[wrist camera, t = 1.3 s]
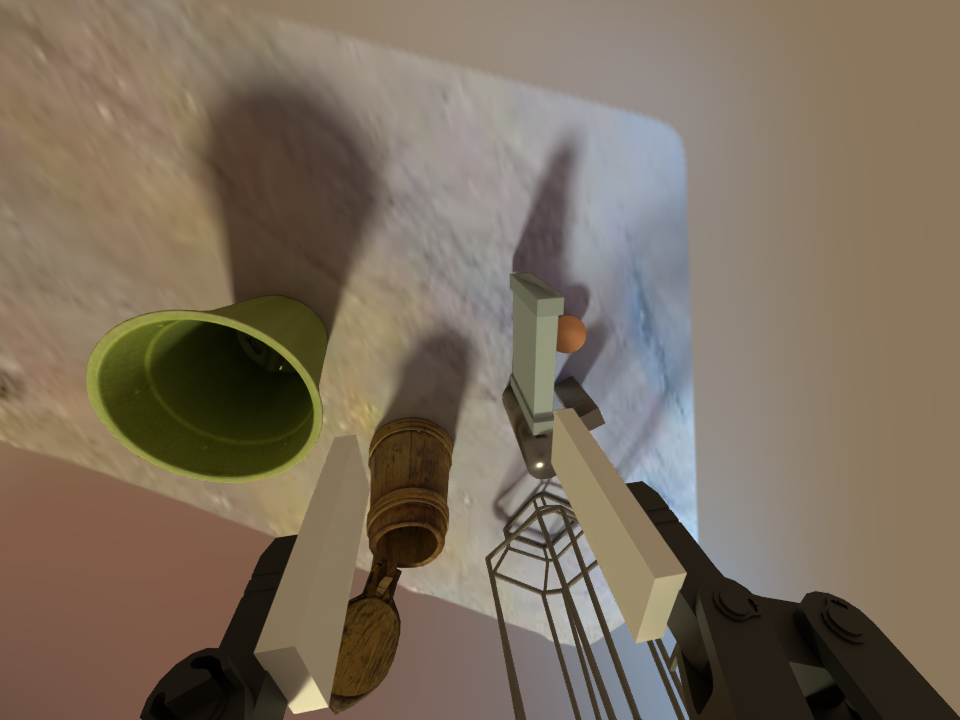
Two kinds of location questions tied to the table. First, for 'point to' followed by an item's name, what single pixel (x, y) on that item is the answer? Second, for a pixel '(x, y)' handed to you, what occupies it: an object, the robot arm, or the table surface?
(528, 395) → the grey-green flanged panel
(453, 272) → the table surface
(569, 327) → the ball
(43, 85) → the table surface
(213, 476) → the plant pot
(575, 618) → the geometric lantern
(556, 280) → the table surface
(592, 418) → the block
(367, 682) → the wooden mug
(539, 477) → the hinge post
